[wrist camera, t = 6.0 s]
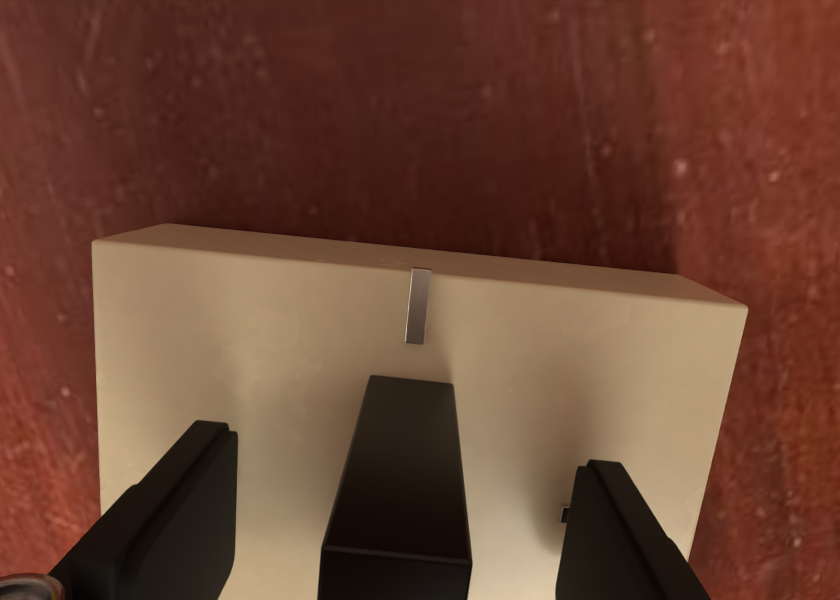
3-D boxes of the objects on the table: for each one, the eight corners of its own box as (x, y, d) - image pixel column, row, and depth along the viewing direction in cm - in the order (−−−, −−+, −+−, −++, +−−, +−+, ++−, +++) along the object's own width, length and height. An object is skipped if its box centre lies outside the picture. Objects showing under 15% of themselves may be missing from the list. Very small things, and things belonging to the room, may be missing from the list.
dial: (369, 373, 11) (315, 562, 6) (454, 382, 11) (475, 578, 6) (349, 599, 12) (288, 922, 7) (425, 606, 12) (421, 935, 7)
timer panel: (682, 270, 13) (757, 303, 10) (612, 605, 15) (657, 716, 12) (163, 218, 13) (83, 235, 10) (166, 562, 15) (99, 662, 12)
